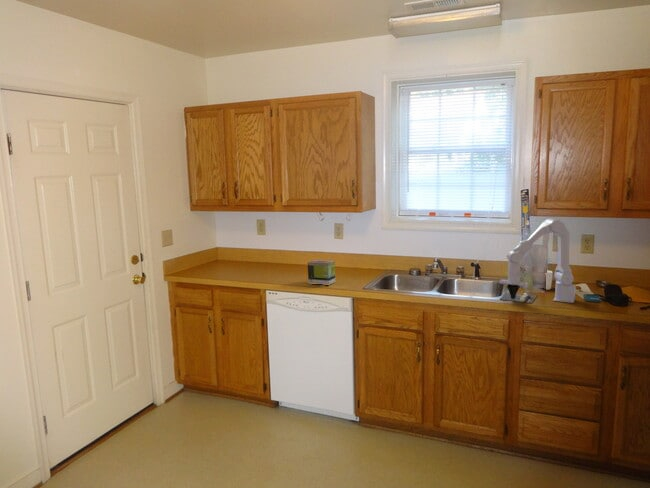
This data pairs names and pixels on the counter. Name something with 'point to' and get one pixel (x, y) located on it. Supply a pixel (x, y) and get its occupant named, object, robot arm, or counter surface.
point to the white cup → (548, 279)
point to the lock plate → (517, 298)
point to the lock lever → (524, 297)
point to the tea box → (321, 271)
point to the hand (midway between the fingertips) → (513, 298)
